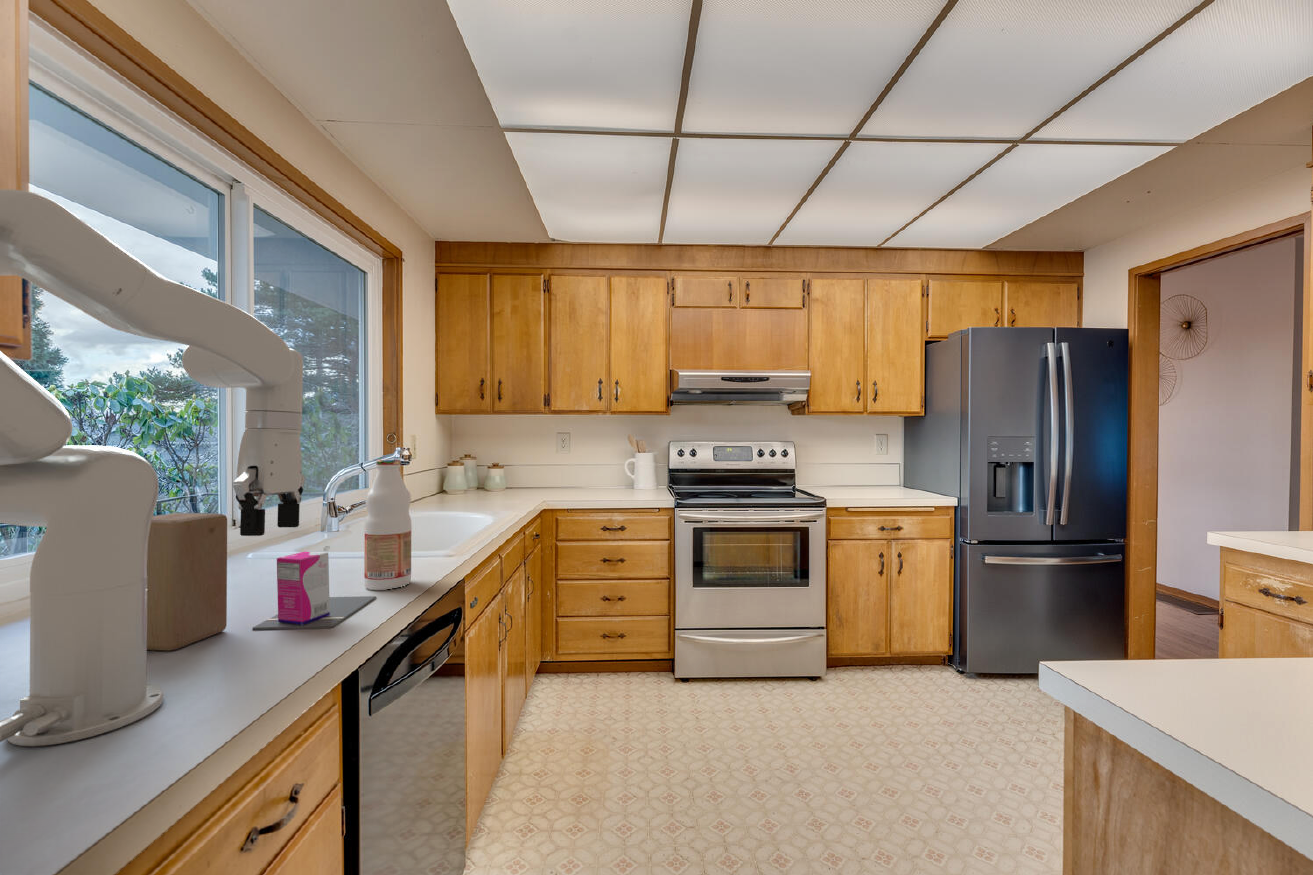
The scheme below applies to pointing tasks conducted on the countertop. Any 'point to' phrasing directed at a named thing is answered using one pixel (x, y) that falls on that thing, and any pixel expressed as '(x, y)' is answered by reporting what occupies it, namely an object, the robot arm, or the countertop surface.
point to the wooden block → (186, 579)
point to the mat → (338, 613)
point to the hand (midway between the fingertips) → (271, 530)
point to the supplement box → (303, 587)
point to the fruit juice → (387, 530)
